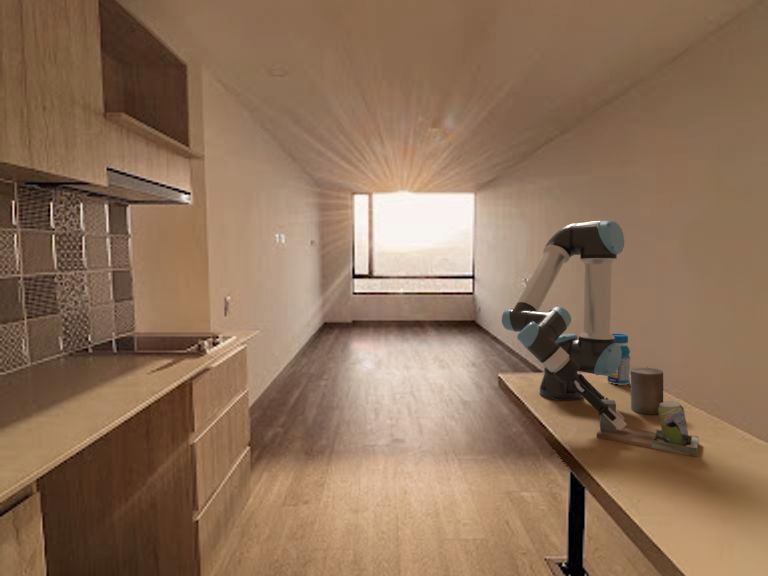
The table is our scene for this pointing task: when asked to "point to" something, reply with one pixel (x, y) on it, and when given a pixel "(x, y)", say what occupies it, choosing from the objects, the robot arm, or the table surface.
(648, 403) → the pillar candle
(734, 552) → the table surface
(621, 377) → the beverage bottle
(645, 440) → the pull strip
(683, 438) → the beverage can
